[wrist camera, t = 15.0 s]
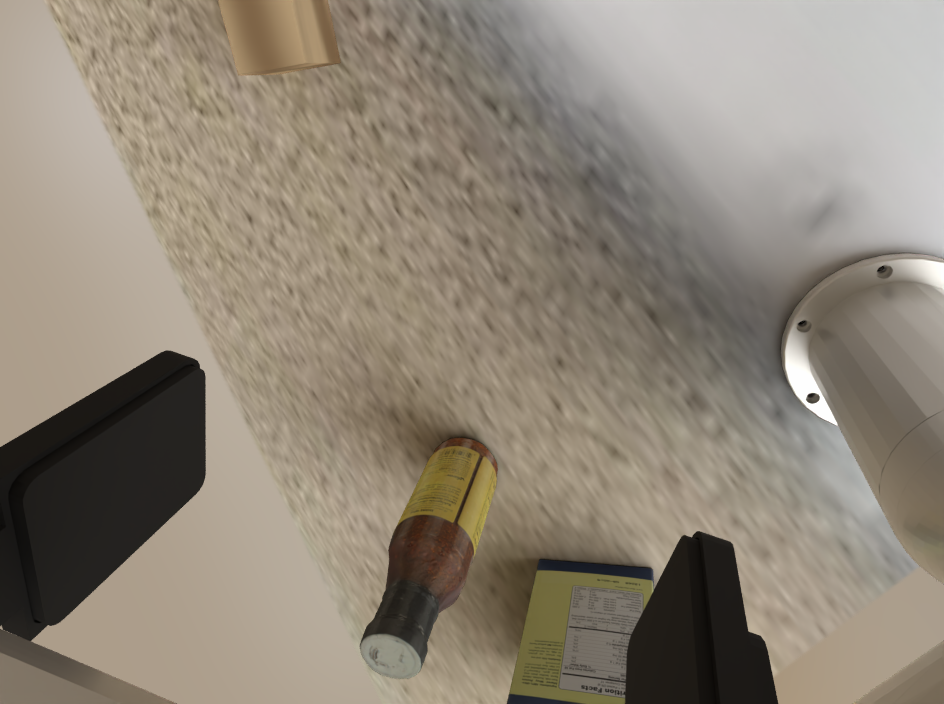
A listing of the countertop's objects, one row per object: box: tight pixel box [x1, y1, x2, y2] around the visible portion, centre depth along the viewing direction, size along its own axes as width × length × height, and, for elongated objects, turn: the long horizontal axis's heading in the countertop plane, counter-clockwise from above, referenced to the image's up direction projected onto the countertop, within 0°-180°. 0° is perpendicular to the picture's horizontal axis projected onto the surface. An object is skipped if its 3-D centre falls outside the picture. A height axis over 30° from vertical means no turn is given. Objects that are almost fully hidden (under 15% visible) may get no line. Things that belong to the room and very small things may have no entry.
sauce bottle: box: [360, 437, 498, 679], centre depth 45 cm, size 6×6×20 cm
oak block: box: [218, 0, 341, 75], centre depth 40 cm, size 5×5×5 cm
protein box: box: [507, 559, 654, 704], centre depth 51 cm, size 10×16×16 cm
